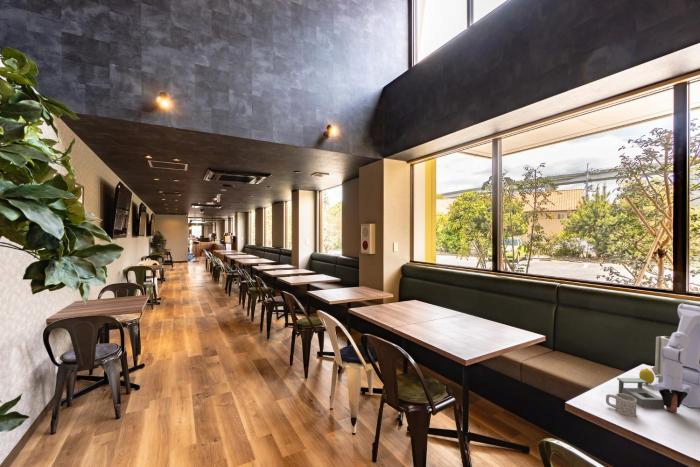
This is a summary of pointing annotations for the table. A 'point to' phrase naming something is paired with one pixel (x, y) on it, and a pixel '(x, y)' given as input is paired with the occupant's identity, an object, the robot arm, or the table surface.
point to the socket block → (640, 393)
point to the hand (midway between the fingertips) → (671, 406)
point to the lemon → (646, 376)
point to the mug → (623, 404)
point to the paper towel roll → (660, 343)
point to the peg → (673, 404)
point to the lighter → (657, 374)
